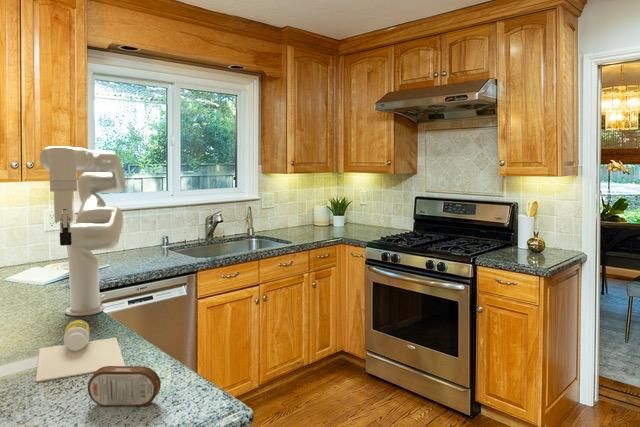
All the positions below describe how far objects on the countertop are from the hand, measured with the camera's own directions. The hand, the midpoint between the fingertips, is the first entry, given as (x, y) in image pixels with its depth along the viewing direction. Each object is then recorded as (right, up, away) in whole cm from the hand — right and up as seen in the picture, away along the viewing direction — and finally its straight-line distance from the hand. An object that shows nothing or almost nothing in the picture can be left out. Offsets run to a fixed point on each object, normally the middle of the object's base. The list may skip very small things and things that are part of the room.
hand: (65, 244), depth 153 cm
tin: (+38, -32, -48) cm, 69 cm away
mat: (+15, -29, -22) cm, 40 cm away
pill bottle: (+8, -25, -9) cm, 27 cm away
